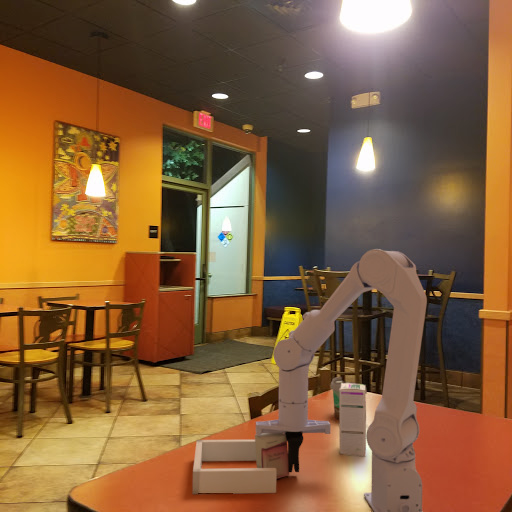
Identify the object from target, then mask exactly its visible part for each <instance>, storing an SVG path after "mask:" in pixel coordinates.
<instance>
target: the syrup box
mask: <svg viewBox="0 0 512 512" xmlns="http://www.w3.org/2000/svg"><path fill="white" fill-rule="evenodd" d="M365 385H366V384H363V383H354V382H351V383H341V386H340V411H339V420H338V421H339V423H338V424H339V438H338V439H339V454H340V455H345V456H354V457H366V454H367V439H366V434H367V404H366V403H367V402H366V401H367V400H366V399H367V398H366V394H365Z"/></svg>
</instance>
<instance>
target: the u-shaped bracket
mask: <svg viewBox="0 0 512 512" xmlns="http://www.w3.org/2000/svg"><path fill="white" fill-rule="evenodd" d="M195 445H196V446H195V452H194V461H193V468H192V495H199V494H198V493H233V494H275V493H277V479H276V468H257V467H240V468H239V467H238V468H237V467H235V468H232V467H231V468H230V467H229V468H224V467H223V468H202V467H203V465H202V464H203V462H240V461H241V462H245V461H247V462H248V461H250V462H251V461H252V462H254V461H255V462H257V461H256V446H255V439H196V444H195ZM201 466H202V467H201Z"/></svg>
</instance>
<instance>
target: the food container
mask: <svg viewBox="0 0 512 512" xmlns="http://www.w3.org/2000/svg"><path fill="white" fill-rule="evenodd" d="M331 380H332V381H331V383H330V389H331V390H332V395H333V396H332V398H333V412H334V418H335V419H336V420H338V421H339V411H340V386H341V383H352V381H351V382H350V381H345V380H342V376H337V377H334V378H332V379H331ZM364 385H365V395H366V394H368V392H367V387H366V384H364Z"/></svg>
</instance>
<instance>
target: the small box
mask: <svg viewBox="0 0 512 512" xmlns="http://www.w3.org/2000/svg"><path fill="white" fill-rule="evenodd" d="M254 440H255V446H256V461H255V462H256V468H276V480H277V479H280V478H283V477H287V476H289V475H290V472H288V466H289V465H288V441H287V439H286V435H285V434H284V433H262V434H261V435H256V434H254Z"/></svg>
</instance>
